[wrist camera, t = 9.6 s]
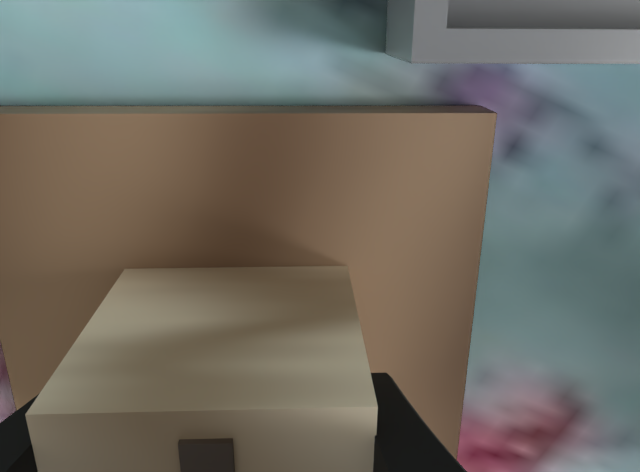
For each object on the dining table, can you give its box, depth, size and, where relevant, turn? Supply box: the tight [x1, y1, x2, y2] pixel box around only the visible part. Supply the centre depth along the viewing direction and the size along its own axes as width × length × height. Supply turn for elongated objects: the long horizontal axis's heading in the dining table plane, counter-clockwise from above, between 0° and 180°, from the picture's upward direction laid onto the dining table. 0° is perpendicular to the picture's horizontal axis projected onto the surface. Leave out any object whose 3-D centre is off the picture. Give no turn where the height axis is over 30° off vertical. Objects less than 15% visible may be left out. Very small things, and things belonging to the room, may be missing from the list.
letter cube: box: [25, 266, 378, 472], centre depth 10 cm, size 4×4×5 cm
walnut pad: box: [0, 106, 497, 460], centre depth 13 cm, size 10×10×1 cm
